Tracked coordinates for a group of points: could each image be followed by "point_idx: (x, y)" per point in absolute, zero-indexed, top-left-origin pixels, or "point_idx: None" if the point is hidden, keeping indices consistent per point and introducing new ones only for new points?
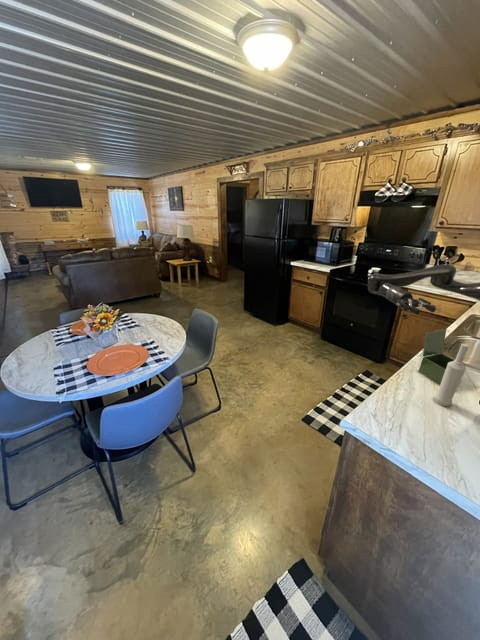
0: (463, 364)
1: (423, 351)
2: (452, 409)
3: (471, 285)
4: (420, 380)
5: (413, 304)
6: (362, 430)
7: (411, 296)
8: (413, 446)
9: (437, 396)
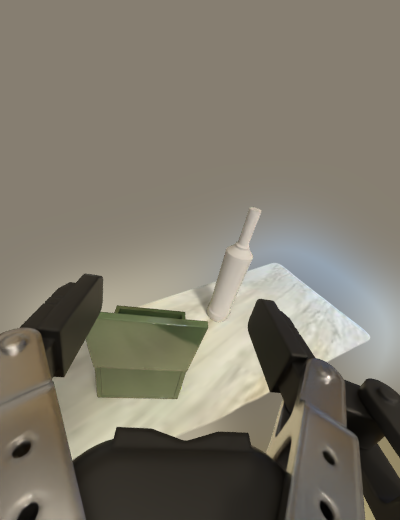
0: (116, 308)
1: (190, 363)
2: None
3: None
4: (205, 367)
5: (238, 439)
6: (353, 322)
7: None
8: (300, 292)
9: (229, 311)
